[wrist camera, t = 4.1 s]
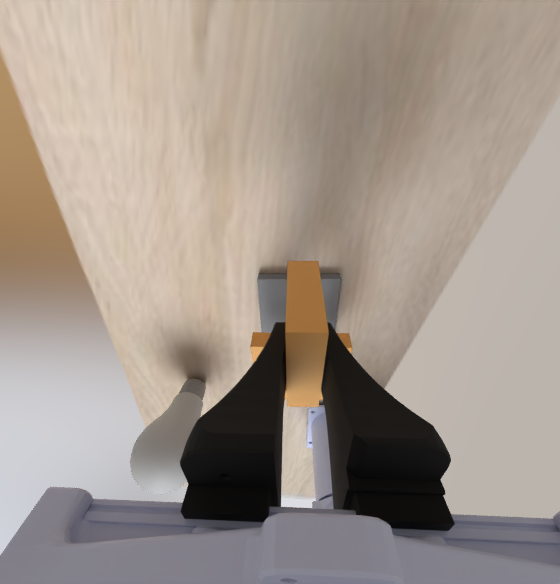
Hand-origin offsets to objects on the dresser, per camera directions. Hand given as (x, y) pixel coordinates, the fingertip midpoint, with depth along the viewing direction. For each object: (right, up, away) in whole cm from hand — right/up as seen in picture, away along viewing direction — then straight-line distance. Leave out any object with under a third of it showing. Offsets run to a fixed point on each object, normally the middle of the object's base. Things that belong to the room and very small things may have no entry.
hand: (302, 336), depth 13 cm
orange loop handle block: (0, -1, +4) cm, 4 cm away
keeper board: (+1, -2, +12) cm, 13 cm away
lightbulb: (-11, -8, +17) cm, 22 cm away
